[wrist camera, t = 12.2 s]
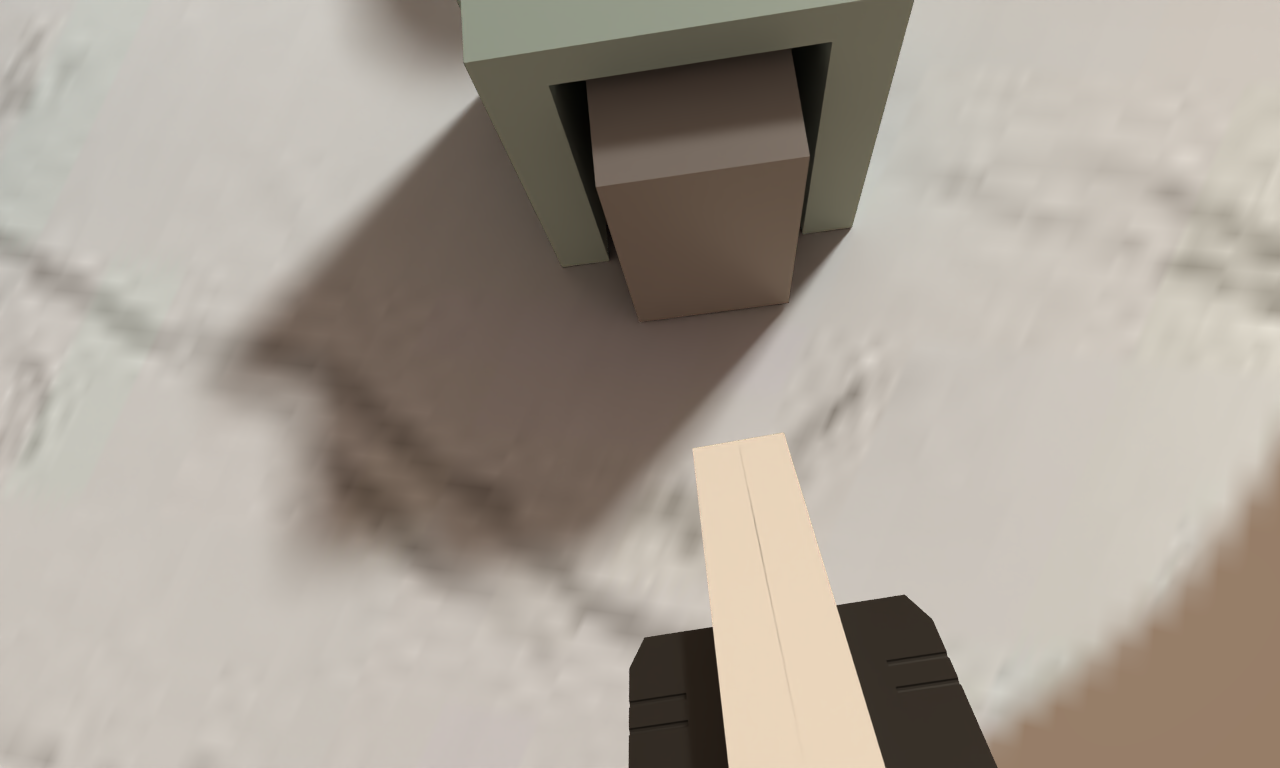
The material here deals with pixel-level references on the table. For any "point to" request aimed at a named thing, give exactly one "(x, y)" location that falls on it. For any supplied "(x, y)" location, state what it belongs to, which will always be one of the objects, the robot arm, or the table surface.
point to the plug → (702, 181)
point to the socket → (664, 37)
